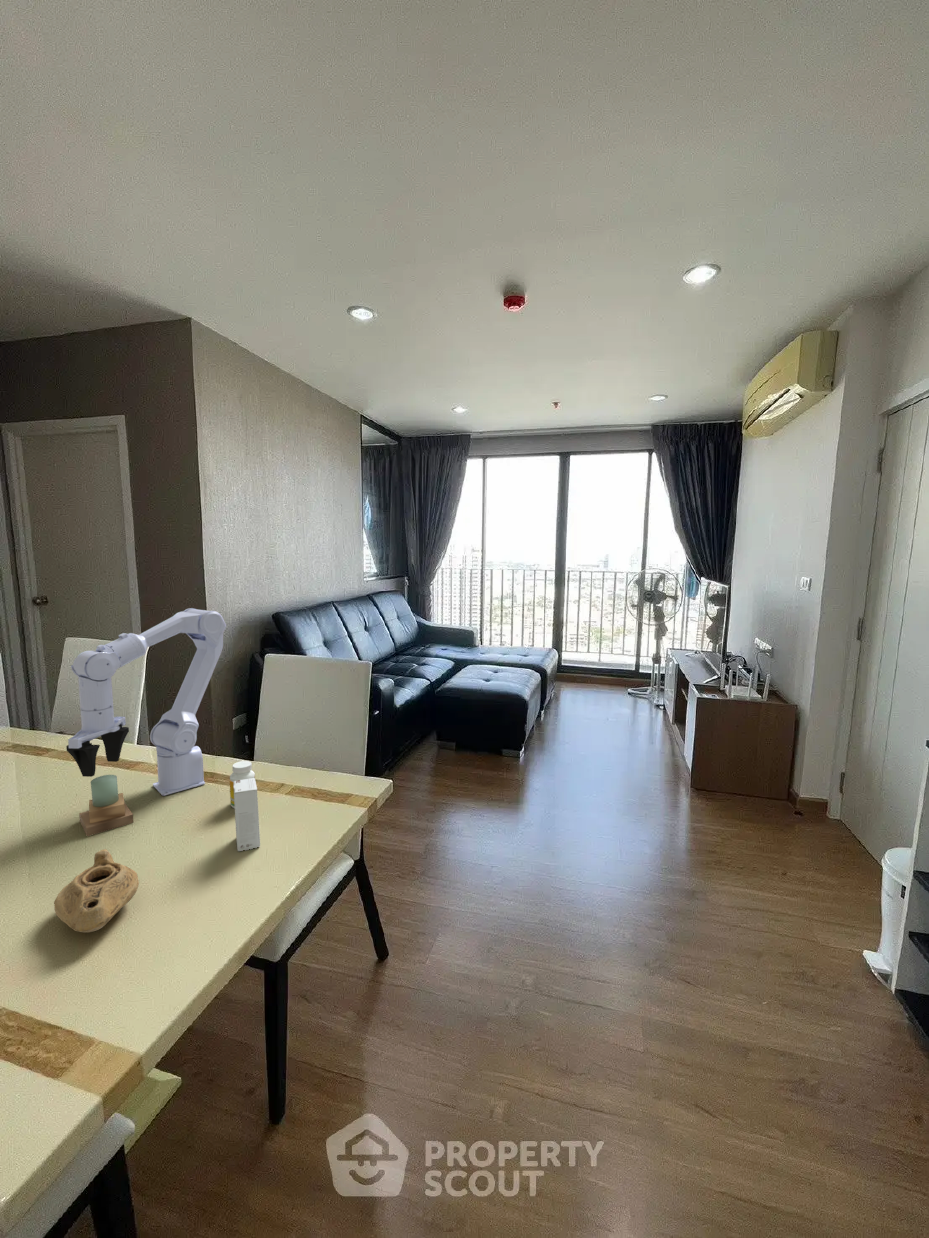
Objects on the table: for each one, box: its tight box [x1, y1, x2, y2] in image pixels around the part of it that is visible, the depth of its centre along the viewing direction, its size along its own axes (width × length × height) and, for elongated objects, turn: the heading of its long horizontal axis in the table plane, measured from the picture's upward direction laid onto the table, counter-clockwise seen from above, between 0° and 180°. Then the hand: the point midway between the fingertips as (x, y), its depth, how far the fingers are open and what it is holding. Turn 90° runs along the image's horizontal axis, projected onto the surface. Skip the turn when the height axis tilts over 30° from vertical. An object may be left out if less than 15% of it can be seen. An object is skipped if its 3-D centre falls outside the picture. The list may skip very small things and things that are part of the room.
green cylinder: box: [90, 774, 119, 807], centre depth 108 cm, size 4×4×5 cm
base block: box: [78, 801, 134, 837], centre depth 108 cm, size 8×8×2 cm
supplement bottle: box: [229, 760, 256, 809], centre depth 117 cm, size 5×5×10 cm
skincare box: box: [233, 777, 261, 852], centre depth 101 cm, size 6×4×12 cm
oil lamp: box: [53, 848, 140, 933], centre depth 80 cm, size 11×15×8 cm
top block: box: [88, 792, 125, 823], centre depth 108 cm, size 6×6×2 cm
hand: (101, 768), depth 110 cm, fingers open, 7 cm apart
